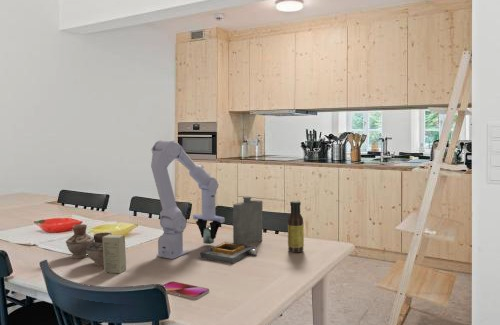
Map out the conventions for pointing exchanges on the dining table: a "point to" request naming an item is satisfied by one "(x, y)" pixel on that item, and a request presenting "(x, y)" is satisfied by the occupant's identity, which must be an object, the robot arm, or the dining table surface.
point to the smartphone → (185, 290)
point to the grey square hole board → (228, 252)
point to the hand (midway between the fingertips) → (208, 237)
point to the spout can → (207, 235)
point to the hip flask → (247, 221)
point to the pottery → (86, 244)
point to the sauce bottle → (295, 228)
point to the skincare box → (114, 253)
